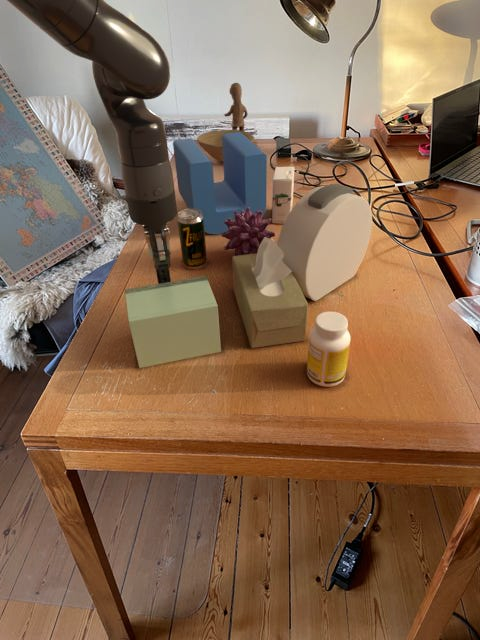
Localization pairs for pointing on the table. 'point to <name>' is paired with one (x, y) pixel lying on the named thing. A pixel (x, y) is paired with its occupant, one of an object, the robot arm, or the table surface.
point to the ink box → (282, 194)
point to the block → (233, 192)
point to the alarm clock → (326, 238)
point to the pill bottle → (328, 349)
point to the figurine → (237, 108)
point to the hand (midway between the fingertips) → (164, 282)
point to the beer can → (192, 238)
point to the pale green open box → (173, 321)
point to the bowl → (217, 142)
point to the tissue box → (269, 297)
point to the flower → (246, 232)
